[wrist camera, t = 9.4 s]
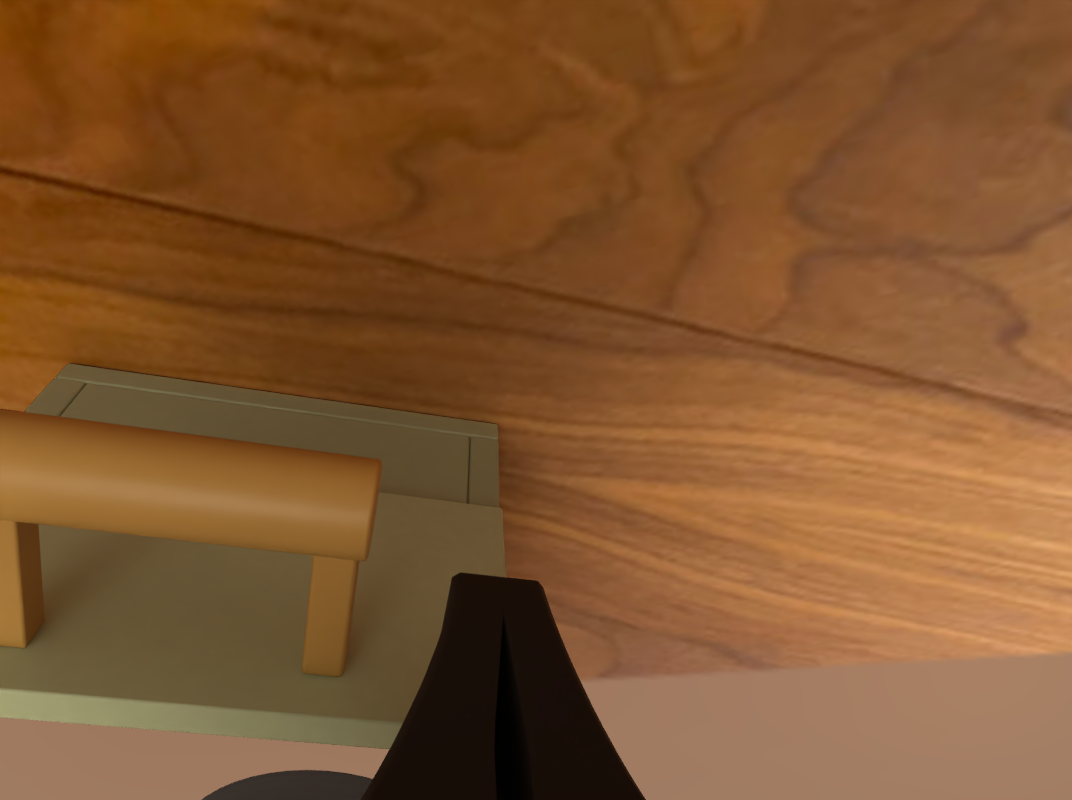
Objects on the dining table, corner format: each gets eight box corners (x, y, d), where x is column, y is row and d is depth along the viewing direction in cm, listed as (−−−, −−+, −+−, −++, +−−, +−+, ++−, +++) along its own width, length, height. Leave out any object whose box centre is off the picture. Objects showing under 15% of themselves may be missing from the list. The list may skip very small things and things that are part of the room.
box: (465, 578, 26) (462, 673, 23) (86, 534, 25) (25, 631, 22) (498, 423, 23) (500, 508, 20) (67, 361, 22) (-7, 443, 18)
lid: (510, 760, 14) (567, 532, 12) (-266, 696, 12) (-342, 420, 10) (498, 527, 20) (534, 355, 18) (-14, 464, 18) (-33, 267, 16)
